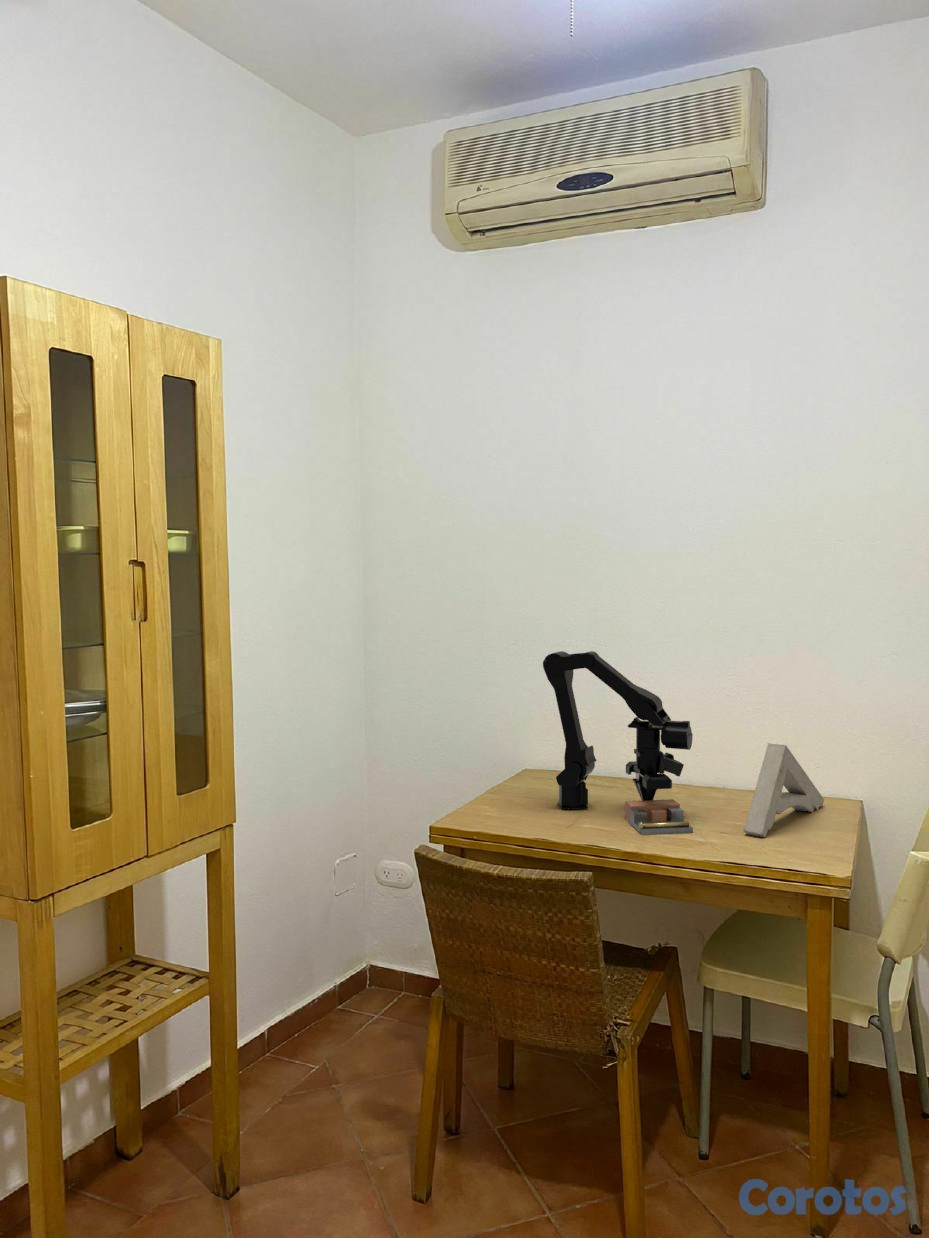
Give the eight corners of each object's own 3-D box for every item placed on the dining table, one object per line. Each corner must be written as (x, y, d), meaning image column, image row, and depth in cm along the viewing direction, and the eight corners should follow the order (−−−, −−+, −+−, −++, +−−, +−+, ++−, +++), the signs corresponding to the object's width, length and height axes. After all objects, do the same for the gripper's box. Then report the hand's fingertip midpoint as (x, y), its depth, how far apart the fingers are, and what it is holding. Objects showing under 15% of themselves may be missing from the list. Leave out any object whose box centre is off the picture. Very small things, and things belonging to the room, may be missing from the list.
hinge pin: (640, 829, 225) (640, 823, 225) (638, 828, 227) (638, 821, 226) (689, 828, 226) (689, 821, 226) (687, 826, 228) (687, 819, 228)
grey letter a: (803, 882, 240) (762, 834, 220) (785, 878, 243) (743, 830, 223) (824, 799, 249) (786, 745, 229) (806, 796, 252) (768, 743, 232)
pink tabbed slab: (634, 826, 232) (634, 809, 231) (624, 817, 239) (625, 801, 239) (684, 823, 233) (684, 807, 233) (672, 815, 241) (672, 799, 241)
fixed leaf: (641, 834, 224) (641, 819, 224) (629, 823, 234) (629, 808, 234) (692, 832, 226) (692, 817, 226) (678, 821, 235) (678, 806, 235)
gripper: (693, 753, 232) (692, 818, 234) (667, 738, 251) (667, 798, 252) (647, 754, 231) (647, 820, 232) (625, 739, 250) (624, 800, 251)
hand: (647, 809), depth 242 cm, fingers closed
